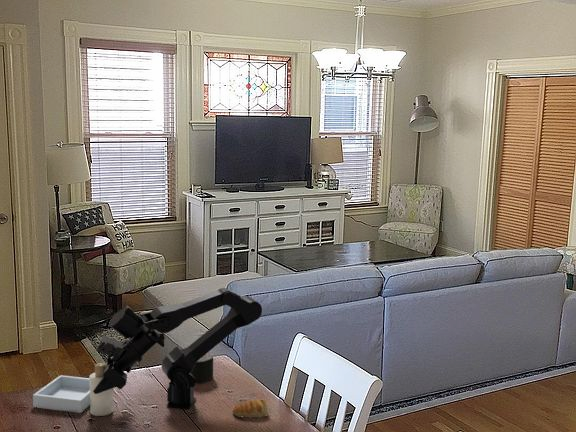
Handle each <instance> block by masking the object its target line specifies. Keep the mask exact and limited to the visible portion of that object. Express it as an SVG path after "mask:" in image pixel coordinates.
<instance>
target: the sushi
mask: <svg viewBox="0 0 576 432" xmlns="http://www.w3.org/2000/svg"><path fill="white" fill-rule="evenodd" d="M191 374H192V375H193V376H194V378H195V379H196V382H195V384H205V383H208V382H210V381H212V380H213V379H214V353H211V351H209V352H208V353H207V354H205V355H204V356H203V357H202V358H200V359H199V360H198V361H197V363H196V365H195V366H194V368H193V370H192V372H191Z"/></svg>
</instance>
